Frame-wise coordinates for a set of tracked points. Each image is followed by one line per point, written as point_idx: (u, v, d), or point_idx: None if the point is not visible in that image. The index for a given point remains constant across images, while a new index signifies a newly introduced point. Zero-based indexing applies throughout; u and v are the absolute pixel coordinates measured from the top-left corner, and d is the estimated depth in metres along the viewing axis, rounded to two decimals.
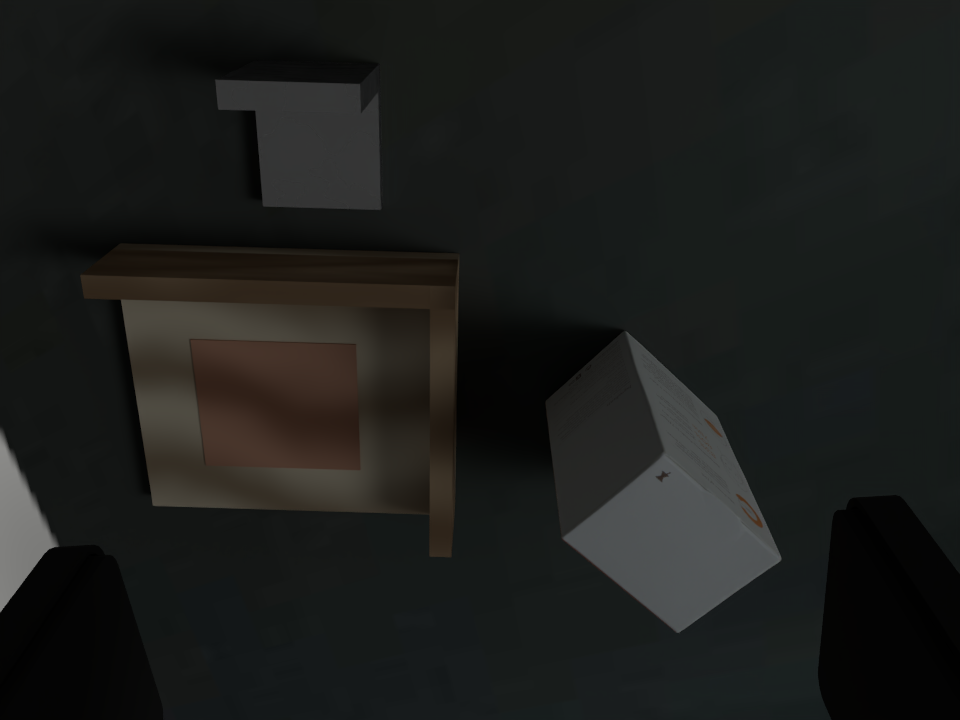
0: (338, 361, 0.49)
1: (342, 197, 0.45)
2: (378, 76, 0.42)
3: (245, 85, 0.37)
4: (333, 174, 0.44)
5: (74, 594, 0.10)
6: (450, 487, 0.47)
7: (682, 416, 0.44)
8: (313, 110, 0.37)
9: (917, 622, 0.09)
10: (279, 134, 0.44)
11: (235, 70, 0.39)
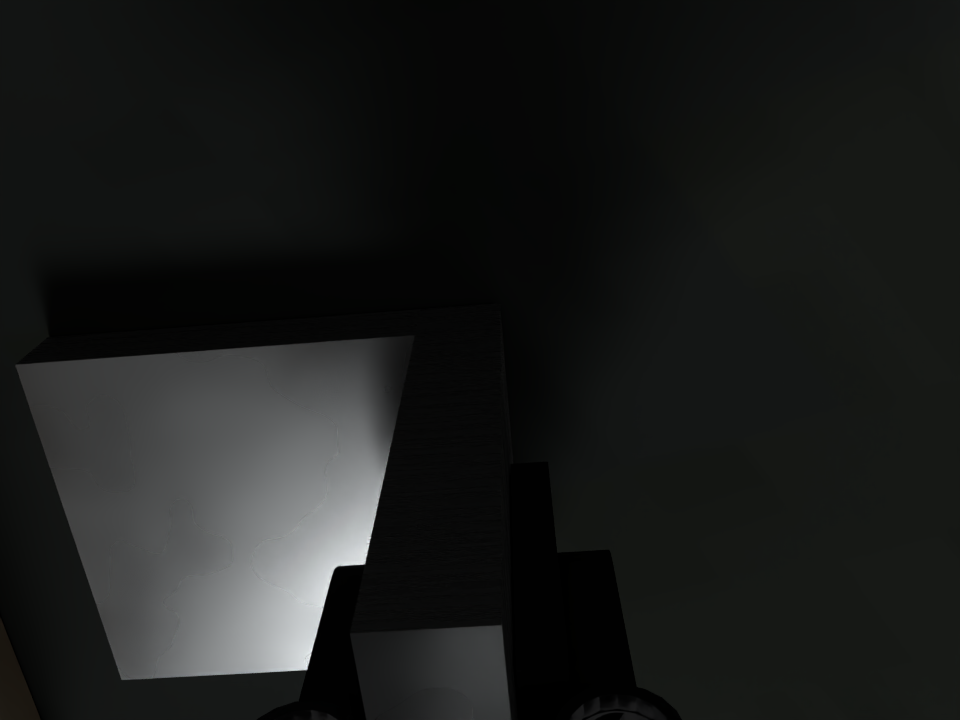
0: None
1: (126, 588, 0.14)
2: None
3: None
4: (188, 562, 0.14)
5: None
6: None
7: None
8: None
9: None
10: (277, 414, 0.13)
11: (500, 436, 0.10)
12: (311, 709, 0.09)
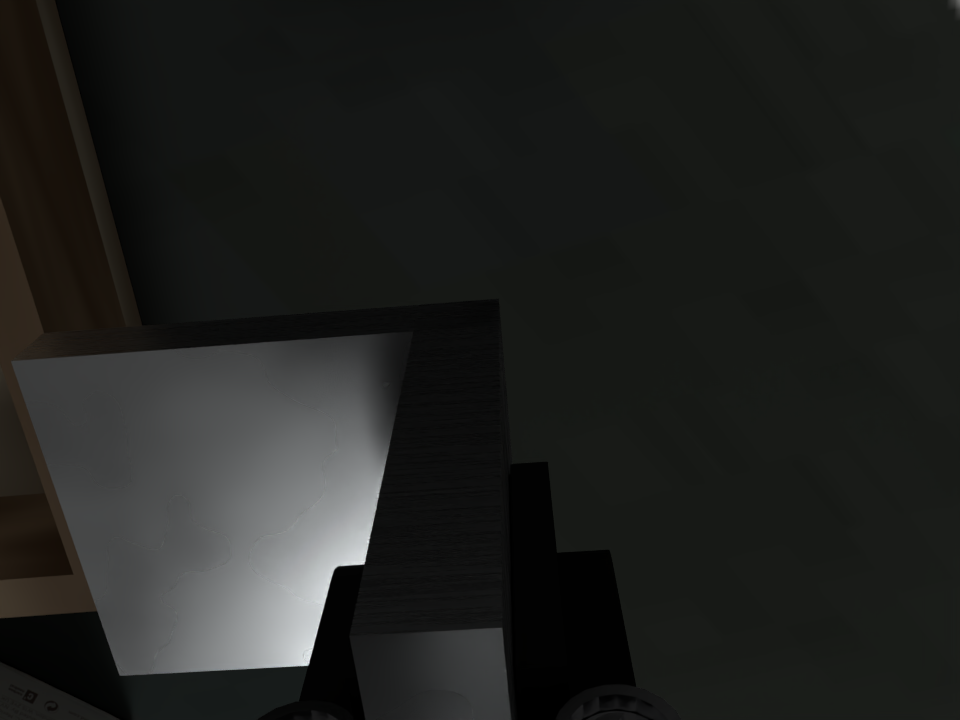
0: None
1: (123, 585, 0.14)
2: None
3: None
4: (186, 558, 0.14)
5: None
6: None
7: None
8: None
9: None
10: (275, 410, 0.13)
11: (499, 434, 0.10)
12: (311, 709, 0.09)
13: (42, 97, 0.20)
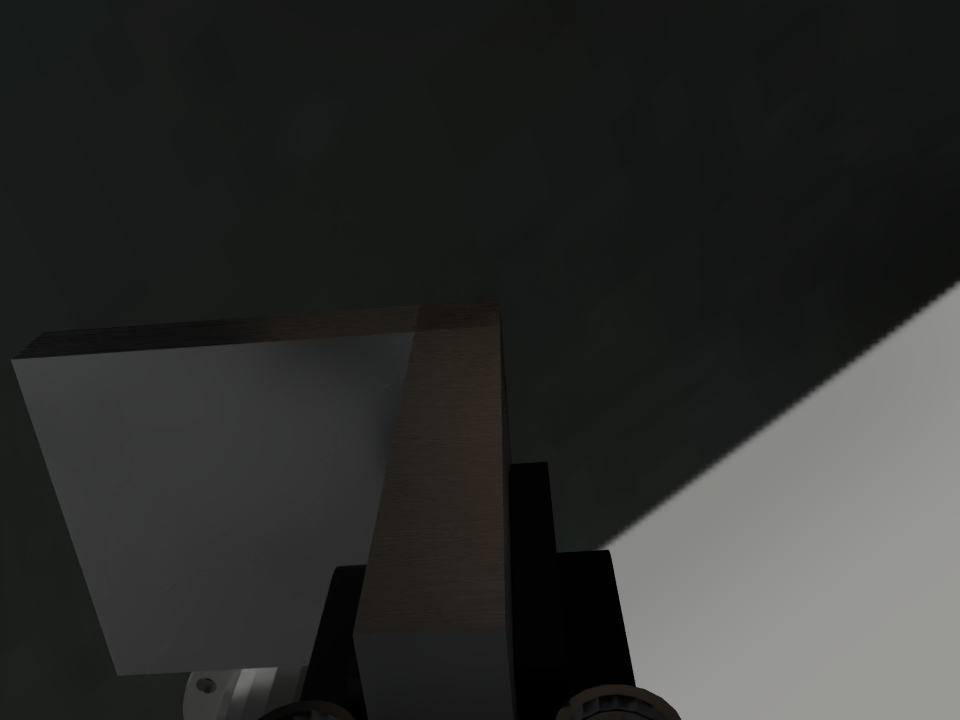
0: None
1: (122, 584, 0.14)
2: None
3: None
4: (185, 558, 0.14)
5: None
6: None
7: None
8: None
9: None
10: (276, 410, 0.13)
11: (501, 435, 0.10)
12: (312, 709, 0.09)
13: None
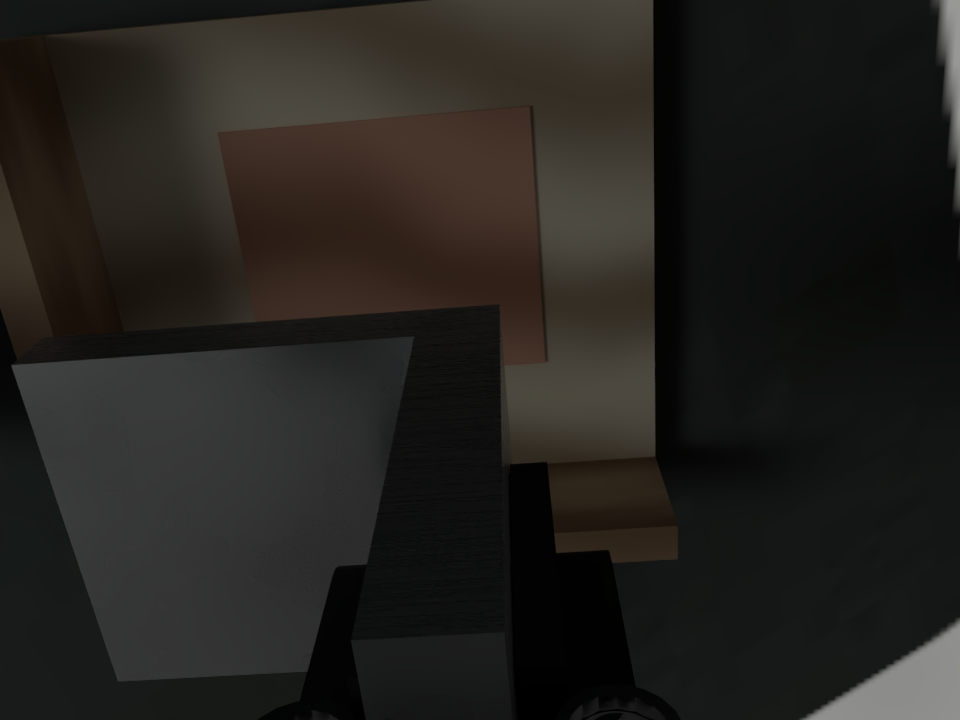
0: None
1: (122, 590, 0.14)
2: None
3: None
4: (185, 564, 0.14)
5: None
6: None
7: None
8: None
9: None
10: (276, 415, 0.13)
11: (501, 439, 0.10)
12: (312, 709, 0.09)
13: None
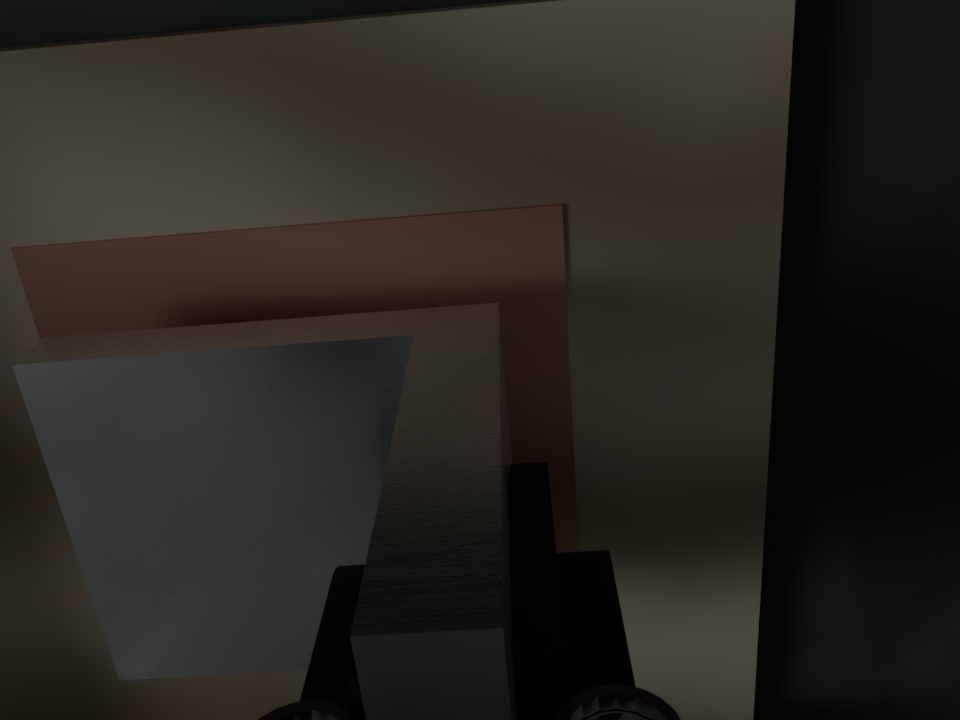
0: None
1: (123, 589, 0.14)
2: None
3: None
4: (186, 563, 0.14)
5: None
6: None
7: None
8: None
9: None
10: (276, 414, 0.13)
11: (500, 437, 0.10)
12: (312, 709, 0.09)
13: None
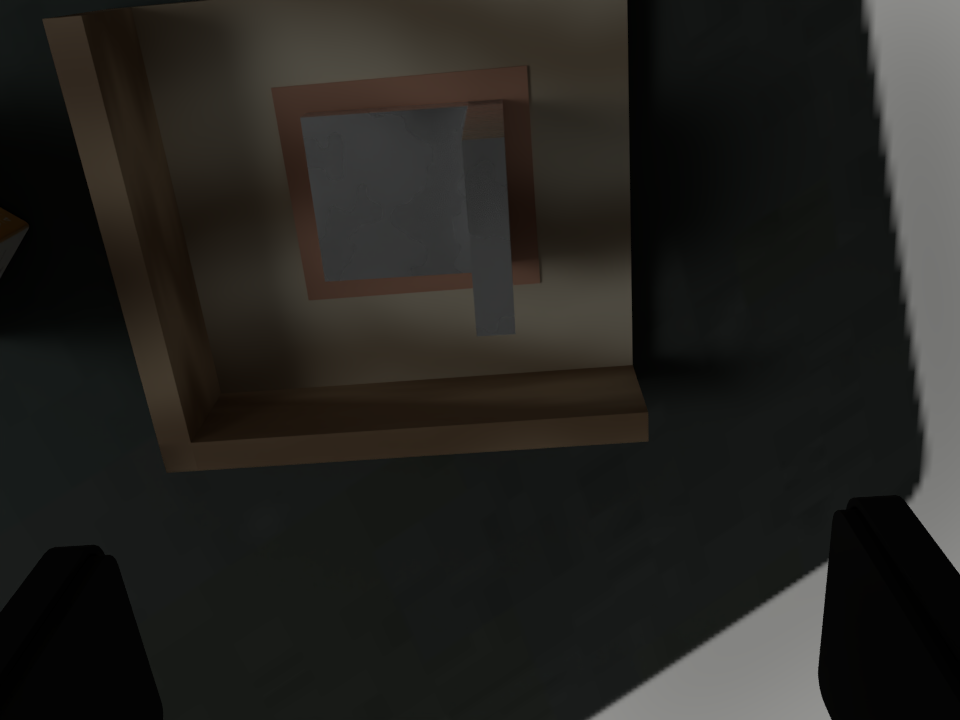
0: None
1: (333, 230, 0.32)
2: None
3: (500, 181, 0.25)
4: (362, 217, 0.32)
5: (74, 594, 0.10)
6: (86, 170, 0.28)
7: None
8: (474, 275, 0.26)
9: (917, 622, 0.09)
10: (408, 142, 0.31)
11: (503, 119, 0.28)
12: None
13: None
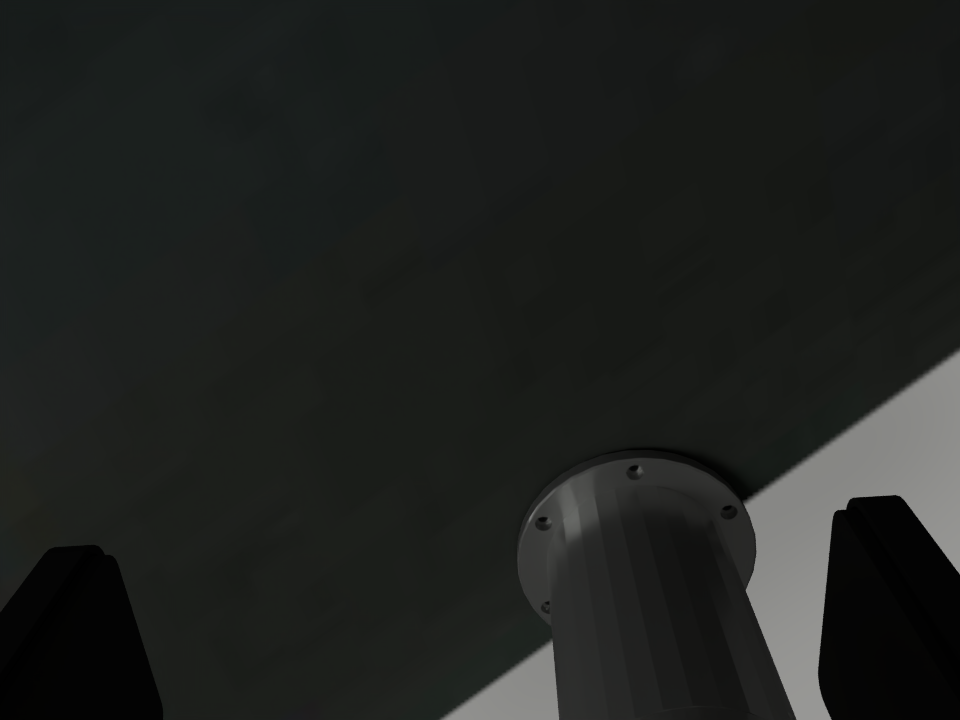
0: None
1: None
2: None
3: None
4: None
5: (74, 594, 0.10)
6: None
7: None
8: None
9: (917, 622, 0.09)
10: None
11: None
12: None
13: None
